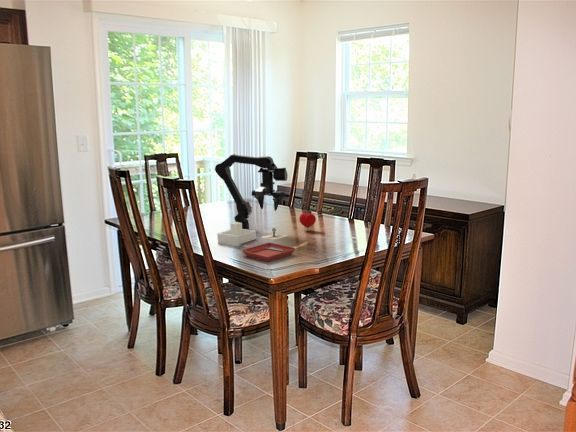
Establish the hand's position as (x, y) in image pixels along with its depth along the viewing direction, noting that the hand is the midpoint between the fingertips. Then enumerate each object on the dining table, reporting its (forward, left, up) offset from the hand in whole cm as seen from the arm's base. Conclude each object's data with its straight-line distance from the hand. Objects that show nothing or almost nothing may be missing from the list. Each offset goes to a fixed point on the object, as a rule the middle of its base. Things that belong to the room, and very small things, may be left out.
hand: (268, 209), depth 299 cm
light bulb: (+18, +10, -12) cm, 24 cm away
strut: (-1, -25, -11) cm, 27 cm away
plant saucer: (+28, -36, -13) cm, 47 cm away
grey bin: (-1, -25, -12) cm, 28 cm away
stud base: (+11, -10, -12) cm, 19 cm away
